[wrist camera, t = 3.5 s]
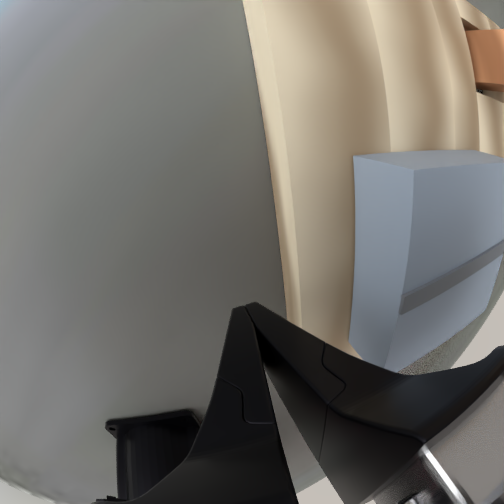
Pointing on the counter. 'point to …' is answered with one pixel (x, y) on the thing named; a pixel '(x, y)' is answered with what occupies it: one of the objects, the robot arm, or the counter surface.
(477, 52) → the pin
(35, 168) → the counter surface
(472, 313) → the block
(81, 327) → the counter surface
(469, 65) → the pin board
